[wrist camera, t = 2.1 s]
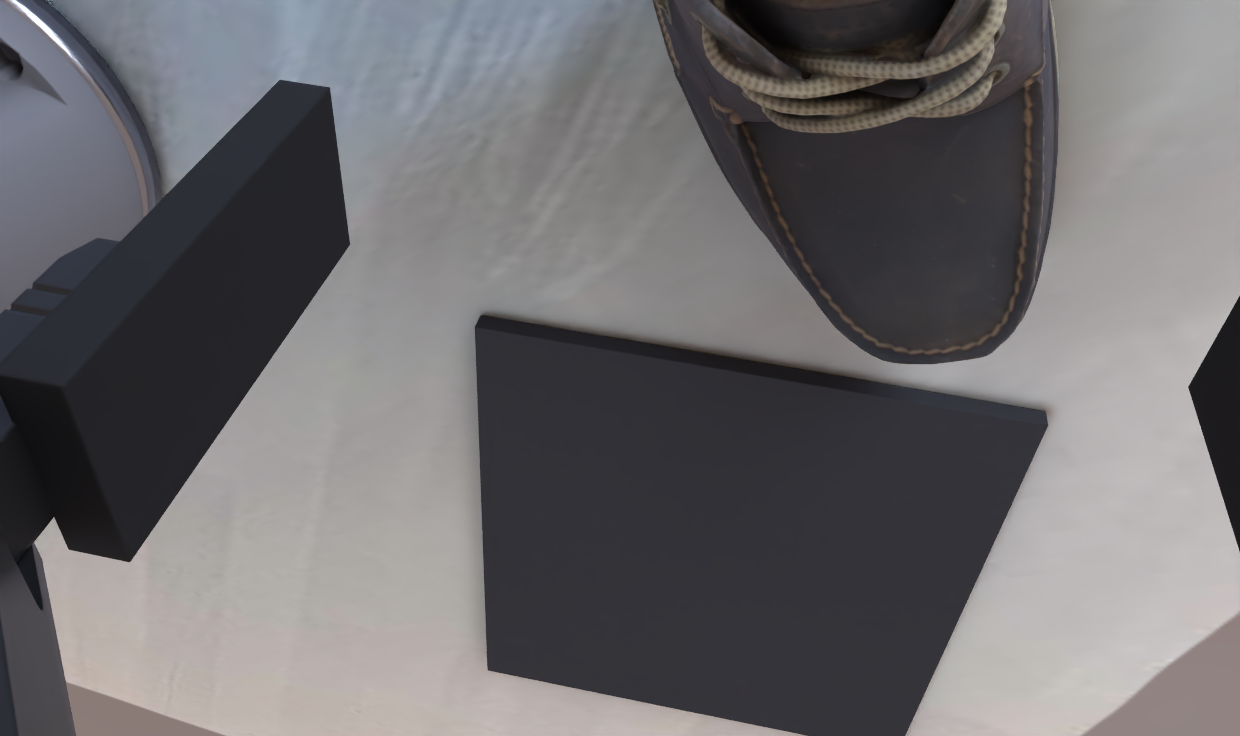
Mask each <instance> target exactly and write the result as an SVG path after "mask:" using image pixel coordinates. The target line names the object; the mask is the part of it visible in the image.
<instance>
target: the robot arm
mask: <svg viewBox="0 0 1240 736" xmlns="http://www.w3.org/2000/svg"><path fill="white" fill-rule="evenodd" d="M349 245H350V241H349V233H348V225H347V217H346V210H345V202H344V194H343V186H342V179H341V171H340V163H339V155H338V147H337V140H336V132H335V124H334V116H333V109H332V101H331V93H330V88H329V87H323V86H316V85H310V84H303V83H297V82H290V81H284V80H279V81H278V82H277V83H276V84H275V85H274V86H273V87H272V88H271V89H270V90H269V91H268V92H267V93H266V94H265V95H264V96H263V97H262V98H261V100H260V101H259V102H258V103H257V104H256V105H255V106H254V107H253V108H252V109H251V110H250V111H249V112H248V113H247V114H246V115H245V116H244V117H243V118H242V119H241V120H240V121H239V122H238V123H237V124H236V125H235V126H234V127H233V128H232V129H231V130H230V131H229V132H228V133H227V134H226V135H225V136H224V137H223V138H222V139H221V140H220V141H219V142H218V143H217V144H216V145H215V146H214V147H213V148H212V149H211V150H210V151H209V152H208V153H207V154H206V155H205V156H204V157H203V158H202V159H201V160H200V161H199V162H198V163H197V164H196V165H195V166H194V167H193V168H192V169H191V170H190V171H189V172H188V173H187V174H186V175H185V176H184V178H183V179H182V180H181V181H180V182H179V183H178V184H177V185H176V186H175V187H174V188H173V189H172V190H171V191H170V192H169V193H168V194H167V195H166V196H165V197H164V198H163V199H162V192H161V182H160V175H159V170H158V166H157V161H156V158H155V154H154V151H153V148H152V145H151V142H150V139H149V137H148V134H147V132H146V129H145V127H144V124H143V122H142V120H141V118H140V116H139V114H138V112H137V110H136V108H135V106H134V105H133V103H132V101H131V100H130V98H129V96H128V95H127V93H126V91H125V90H124V88H123V86H122V85H121V83H120V82H119V81H118V79H117V78H116V76H115V75H114V73H113V72H112V71H111V69H110V68H109V66H108V65H107V64H106V63H105V61H104V60H103V59H102V58H101V56H100V55H99V54H98V53H97V51H96V50H95V49H94V48H93V47H92V46H91V45H90V43H89V42H88V41H87V40H86V39H85V38H84V37H83V36H82V35H81V34H80V32H79V31H78V30H77V29H76V28H75V27H74V26H72V25H71V24H70V23H69V22H68V21H67V20H66V19H65V18H64V17H63V16H62V15H61V14H60V13H59V12H58V11H57V10H55V9H54V8H53V7H52V6H51V5H50V4H48V3H47V2H46V1H45V0H0V736H76V733H75V728H74V723H73V717H72V712H71V707H70V702H69V697H68V692H67V686H66V681H65V676H64V671H63V666H62V661H61V655H60V650H59V645H58V640H57V635H56V630H55V624H54V619H53V614H52V609H51V604H50V599H49V593H48V588H47V583H46V578H45V573H44V568H43V562H42V558H41V556H40V554H39V552H38V550H37V548H36V546H35V544H34V541H35V540H36V539H37V537H38V536H39V535H40V534H41V532H42V531H43V530H44V529H45V527H46V526H47V525H48V524H49V522H50V521H51V520H52V519H53V517H55V520H56V522H57V524H58V526H59V529H60V531H61V533H62V535H63V538H64V540H65V542H66V544H67V547H68V549H69V550H74V551H78V552H83V553H88V554H93V555H98V556H102V557H107V558H112V559H117V560H122V561H126V562H130V561H131V560H132V559H133V557H134V556H135V554H136V553H137V551H138V550H139V548H140V547H141V546H142V544H143V543H144V541H145V540H146V538H147V537H148V535H149V534H150V533H151V531H152V530H153V528H154V527H155V525H156V524H157V522H158V521H159V520H160V518H161V517H162V515H163V514H164V512H165V511H166V509H167V508H168V507H169V505H170V504H171V502H172V501H173V499H174V498H175V496H176V495H177V494H178V492H179V491H180V489H181V488H182V486H183V485H184V483H185V482H186V481H187V479H188V478H189V476H190V475H191V473H192V472H193V470H194V469H195V468H196V466H197V465H198V463H199V462H200V460H201V459H202V457H203V456H204V455H205V453H206V452H207V450H208V449H209V447H210V446H211V444H212V443H213V442H214V440H215V439H216V437H217V436H218V434H219V433H220V432H221V430H222V429H223V427H224V426H225V424H226V423H227V421H228V420H229V419H230V417H231V416H232V414H233V413H234V411H235V410H236V408H237V407H238V406H239V404H240V403H241V401H242V400H243V398H244V397H245V395H246V394H247V393H248V391H249V390H250V388H251V387H252V385H253V384H254V382H255V381H256V380H257V378H258V377H259V375H260V374H261V372H262V371H263V369H264V368H265V367H266V365H267V364H268V362H269V361H270V359H271V358H272V356H273V355H274V354H275V352H276V351H277V349H278V348H279V346H280V345H281V343H282V342H283V341H284V339H285V338H286V336H287V335H288V333H289V332H290V330H291V329H292V328H293V326H294V325H295V323H296V322H297V320H298V319H299V317H300V316H301V315H302V313H303V312H304V310H305V309H306V307H307V306H308V304H309V303H310V302H311V300H312V299H313V297H314V296H315V294H316V293H317V291H318V290H319V289H320V287H321V286H322V284H323V283H324V281H325V280H326V278H327V277H328V276H329V274H330V273H331V271H332V270H333V268H334V267H335V265H336V264H337V263H338V261H339V260H340V258H341V257H342V255H343V254H344V252H345V251H346V250H347V248H348V247H349ZM1188 388H1189V391H1190V394H1191V397H1192V400H1193V404H1194V407H1195V410H1196V413H1197V416H1198V420H1199V423H1200V426H1201V429H1202V432H1203V436H1204V439H1205V442H1206V445H1207V448H1208V452H1209V455H1210V458H1211V461H1212V464H1213V468H1214V471H1215V474H1216V477H1217V480H1218V483H1219V487H1220V490H1221V493H1222V496H1223V499H1224V503H1225V506H1226V509H1227V512H1228V515H1229V519H1230V522H1231V525H1232V528H1233V531H1234V535H1235V538H1236V541H1237V544H1238V547H1239V551H1240V296H1239V298H1238V300H1237V302H1236V303H1235V305H1234V307H1233V309H1232V311H1231V312H1230V314H1229V316H1228V318H1227V319H1226V321H1225V323H1224V325H1223V326H1222V328H1221V330H1220V332H1219V334H1218V335H1217V337H1216V339H1215V341H1214V342H1213V344H1212V346H1211V348H1210V350H1209V351H1208V353H1207V355H1206V357H1205V358H1204V360H1203V362H1202V364H1201V365H1200V367H1199V369H1198V371H1197V373H1196V374H1195V376H1194V378H1193V380H1192V381H1191V383H1190V385H1189V387H1188Z"/></svg>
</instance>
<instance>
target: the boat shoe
mask: <svg viewBox="0 0 1240 736" xmlns="http://www.w3.org/2000/svg"><path fill="white" fill-rule="evenodd" d="M653 3H654V7H655V11H656V14H657V18H658V21H659V25H660V28H661V32H662V35H663V38H664V42H665V45H666V48H667V51H668V55H669V57H670V60H671V62H672V65H673V68H674V72H675V76H676V78H677V80H678V82H679V84H680V86H681V88H682V90H683V92H684V95H685V97H686V99H687V101H688V103H689V106H690V108H691V110H692V112H693V114H694V117H695V119H696V121H697V123H698V125H699V127H700V130H701V132H702V134H703V136H704V138H705V140H706V142H707V144H708V146H709V148H710V150H711V152H712V154H713V156H714V158H715V160H716V162H717V164H718V165H719V167H720V169H721V171H722V173H723V174H724V176H725V178H726V179H727V181H728V183H729V184H730V186H731V187H732V189H733V190H734V192H735V194H736V195H737V197H738V198H739V200H740V201H741V203H742V204H743V206H744V207H745V209H746V210H747V212H748V213H749V215H750V216H751V218H752V219H753V221H754V222H755V223H756V225H757V226H758V227H759V229H760V230H761V231H762V232H763V233H764V234H765V235H766V237H767V238H768V239H769V241H770V242H771V244H772V245H773V246H774V248H775V249H776V251H777V252H778V253H779V255H780V256H781V257H782V259H783V260H784V262H785V263H786V264H787V266H788V267H789V268H790V270H791V271H792V272H793V274H794V275H795V276H796V277H797V279H798V280H799V281H800V282H801V284H802V285H803V286H804V287H805V289H806V290H807V291H808V292H809V293H810V295H811V296H812V297H813V299H814V300H815V302H816V303H817V305H818V306H819V308H820V309H821V310H822V311H823V313H824V314H825V315H826V316H827V318H828V319H829V320H830V321H831V323H832V324H833V325H834V326H835V328H837V329H838V330H839V331H840V332H841V333H842V334H843V335H844V336H846V337H847V338H848V339H849V340H850V341H852V342H853V343H855V344H856V345H857V346H858V347H859V348H861V349H862V350H864V351H866V352H867V353H869V354H870V355H872V356H875V357H877V358H879V359H881V360H883V361H888V362H892V363H900V364H938V363H946V362H953V361H961V360H968V359H975V358H980V357H984V356H987V355H989V354H990V353H992V352H993V351H994V350H995V349H996V348H998V347H999V346H1000V344H1002V343H1003V342H1004V341H1006V340H1007V339H1008V338H1009V336H1010V335H1011V334H1012V333H1013V332H1014V331H1015V329H1016V327H1017V326H1018V324H1019V323H1020V322H1021V321H1022V319H1023V317H1024V315H1025V313H1026V311H1027V309H1028V307H1029V305H1030V302H1031V299H1032V296H1033V293H1034V291H1035V288H1036V284H1037V281H1038V278H1039V274H1040V271H1041V267H1042V262H1043V256H1044V252H1045V248H1046V244H1047V239H1048V234H1049V229H1050V224H1051V216H1052V209H1053V201H1054V192H1055V178H1056V165H1057V151H1058V114H1059V69H1058V52H1057V38H1056V30H1055V23H1054V16H1053V10H1052V5H1051V0H653Z"/></svg>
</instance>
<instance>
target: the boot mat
mask: <svg viewBox="0 0 1240 736" xmlns="http://www.w3.org/2000/svg"><path fill="white" fill-rule="evenodd" d="M475 340H476V367H477V394H478V421H479V449H480V476H481V503H482V530H483V558H484V585H485V612H486V639H487V667H488V670H489V671H494V672H499V673H504V674H508V675H513V676H518V677H523V678H528V679H533V680H538V681H543V682H548V683H552V684H557V685H562V686H567V687H572V688H577V689H582V690H587V691H592V692H597V693H601V694H606V695H611V696H616V697H621V698H626V699H631V700H636V701H641V702H645V703H650V704H655V705H660V706H665V707H670V708H675V709H680V710H685V711H690V712H694V713H699V714H704V715H709V716H714V717H719V718H724V719H729V720H734V721H739V722H743V723H748V724H753V725H758V726H763V727H768V728H773V729H778V730H783V731H787V732H792V733H797V734H802V735H807V736H905V735H906V733H907V730H908V728H909V726H910V724H911V722H912V719H913V717H914V715H915V713H916V711H917V709H918V706H919V704H920V702H921V700H922V698H923V696H924V693H925V691H926V689H927V687H928V685H929V683H930V680H931V678H932V676H933V674H934V672H935V670H936V667H937V665H938V663H939V661H940V659H941V657H942V654H943V652H944V650H945V648H946V646H947V643H948V641H949V639H950V637H951V635H952V633H953V630H954V628H955V626H956V624H957V622H958V620H959V617H960V615H961V613H962V611H963V609H964V607H965V604H966V602H967V600H968V598H969V596H970V594H971V591H972V589H973V587H974V585H975V583H976V581H977V578H978V576H979V574H980V572H981V570H982V567H983V565H984V563H985V561H986V559H987V557H988V554H989V552H990V550H991V548H992V546H993V544H994V541H995V539H996V537H997V535H998V533H999V531H1000V528H1001V526H1002V524H1003V522H1004V520H1005V518H1006V515H1007V513H1008V511H1009V509H1010V507H1011V505H1012V502H1013V500H1014V498H1015V496H1016V494H1017V492H1018V489H1019V487H1020V485H1021V483H1022V481H1023V478H1024V476H1025V474H1026V472H1027V470H1028V468H1029V465H1030V463H1031V461H1032V459H1033V457H1034V455H1035V452H1036V450H1037V448H1038V446H1039V444H1040V442H1041V439H1042V437H1043V435H1044V433H1045V431H1046V429H1047V426H1048V422H1047V416H1046V412H1045V411H1041V410H1035V409H1029V408H1023V407H1017V406H1011V405H1005V404H999V403H994V402H988V401H982V400H976V399H970V398H964V397H958V396H952V395H947V394H941V393H935V392H929V391H923V390H917V389H911V388H905V387H899V386H894V385H888V384H882V383H876V382H870V381H864V380H858V379H852V378H846V377H841V376H835V375H829V374H823V373H817V372H811V371H805V370H799V369H793V368H788V367H782V366H776V365H770V364H764V363H758V362H752V361H746V360H740V359H735V358H729V357H723V356H717V355H711V354H705V353H699V352H693V351H687V350H682V349H676V348H670V347H664V346H658V345H652V344H646V343H640V342H634V341H629V340H623V339H617V338H611V337H605V336H599V335H593V334H587V333H581V332H576V331H570V330H564V329H558V328H552V327H546V326H540V325H534V324H528V323H523V322H517V321H511V320H505V319H499V318H493V317H487V316H480V318H479V320H478V322H477V324H476V326H475Z"/></svg>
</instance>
